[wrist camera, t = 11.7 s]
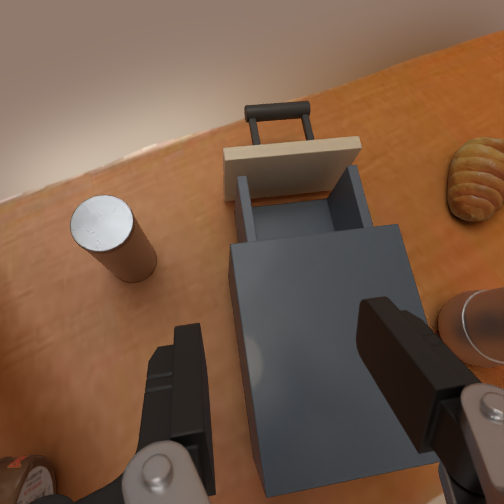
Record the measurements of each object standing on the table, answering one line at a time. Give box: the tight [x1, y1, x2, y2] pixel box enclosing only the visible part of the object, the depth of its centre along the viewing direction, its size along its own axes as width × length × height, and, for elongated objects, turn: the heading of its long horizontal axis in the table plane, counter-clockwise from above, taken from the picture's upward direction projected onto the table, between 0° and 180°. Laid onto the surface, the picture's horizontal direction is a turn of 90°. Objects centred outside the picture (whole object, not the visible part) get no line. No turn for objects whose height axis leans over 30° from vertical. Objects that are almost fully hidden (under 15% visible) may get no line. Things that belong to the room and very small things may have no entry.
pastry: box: [447, 137, 504, 222], centre depth 37 cm, size 9×7×4 cm
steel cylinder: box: [70, 195, 157, 282], centre depth 29 cm, size 4×4×10 cm
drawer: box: [223, 101, 373, 243], centre depth 32 cm, size 20×12×8 cm, turn 9°
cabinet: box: [228, 224, 440, 498], centre depth 28 cm, size 16×13×9 cm
